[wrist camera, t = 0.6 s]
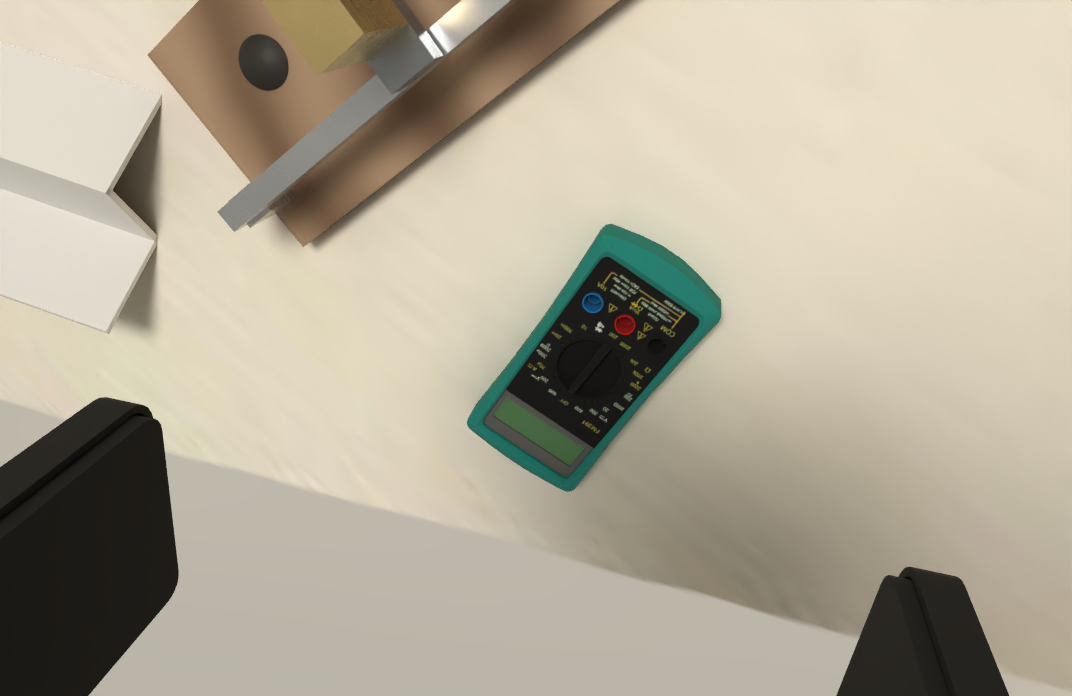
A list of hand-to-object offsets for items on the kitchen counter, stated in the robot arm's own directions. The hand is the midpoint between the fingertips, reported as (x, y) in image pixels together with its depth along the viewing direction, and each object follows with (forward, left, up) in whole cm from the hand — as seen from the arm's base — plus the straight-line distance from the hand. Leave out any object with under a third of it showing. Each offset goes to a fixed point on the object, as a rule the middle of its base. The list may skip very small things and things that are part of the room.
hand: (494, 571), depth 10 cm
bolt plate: (+8, -12, -32) cm, 35 cm away
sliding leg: (+6, -11, -29) cm, 32 cm away
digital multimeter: (+10, +8, -32) cm, 35 cm away
